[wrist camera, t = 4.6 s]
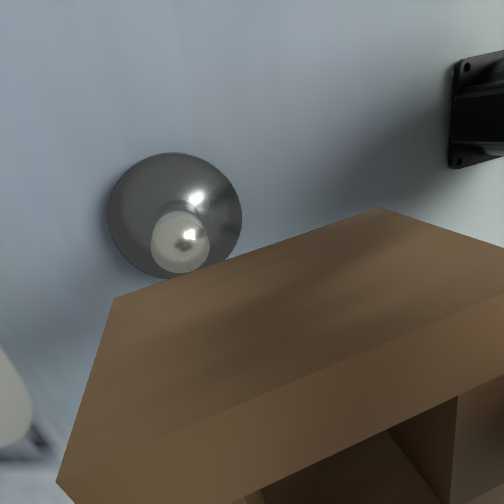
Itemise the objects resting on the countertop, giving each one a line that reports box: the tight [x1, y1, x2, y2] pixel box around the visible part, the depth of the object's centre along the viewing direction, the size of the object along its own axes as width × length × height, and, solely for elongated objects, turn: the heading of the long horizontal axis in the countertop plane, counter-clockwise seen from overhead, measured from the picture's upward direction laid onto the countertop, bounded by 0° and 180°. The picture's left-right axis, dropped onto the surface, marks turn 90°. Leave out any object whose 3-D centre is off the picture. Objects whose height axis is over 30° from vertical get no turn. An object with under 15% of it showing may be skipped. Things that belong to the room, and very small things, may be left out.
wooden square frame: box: [56, 208, 504, 504], centre depth 7 cm, size 7×7×4 cm
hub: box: [108, 153, 242, 279], centre depth 15 cm, size 7×7×5 cm
